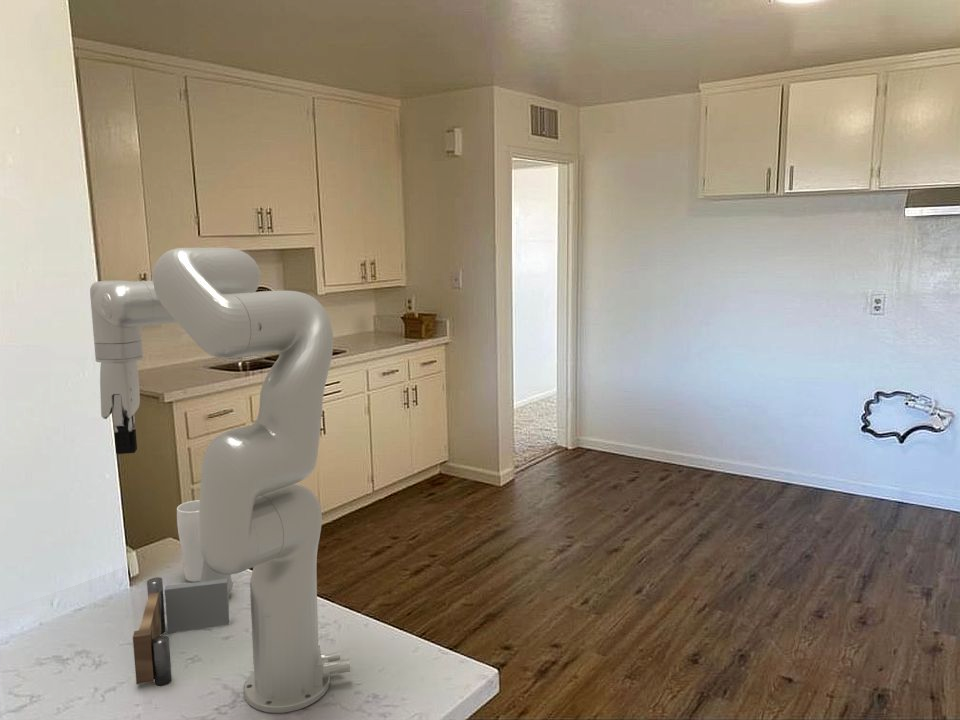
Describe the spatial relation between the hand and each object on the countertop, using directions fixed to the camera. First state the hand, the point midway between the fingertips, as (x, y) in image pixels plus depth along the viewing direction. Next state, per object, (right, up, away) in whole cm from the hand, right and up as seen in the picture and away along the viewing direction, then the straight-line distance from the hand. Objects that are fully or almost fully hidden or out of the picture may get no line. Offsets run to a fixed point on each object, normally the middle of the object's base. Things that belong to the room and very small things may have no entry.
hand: (126, 452), depth 130 cm
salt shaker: (+14, -29, +7) cm, 33 cm away
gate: (+11, -31, -14) cm, 36 cm away
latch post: (+15, -33, -19) cm, 41 cm away
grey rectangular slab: (+14, -30, -3) cm, 34 cm away
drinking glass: (+7, -27, +15) cm, 32 cm away
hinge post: (+8, -30, -5) cm, 32 cm away
